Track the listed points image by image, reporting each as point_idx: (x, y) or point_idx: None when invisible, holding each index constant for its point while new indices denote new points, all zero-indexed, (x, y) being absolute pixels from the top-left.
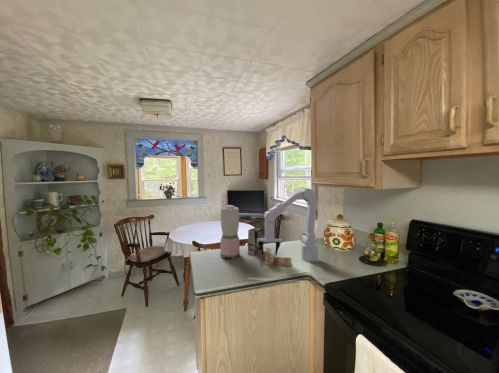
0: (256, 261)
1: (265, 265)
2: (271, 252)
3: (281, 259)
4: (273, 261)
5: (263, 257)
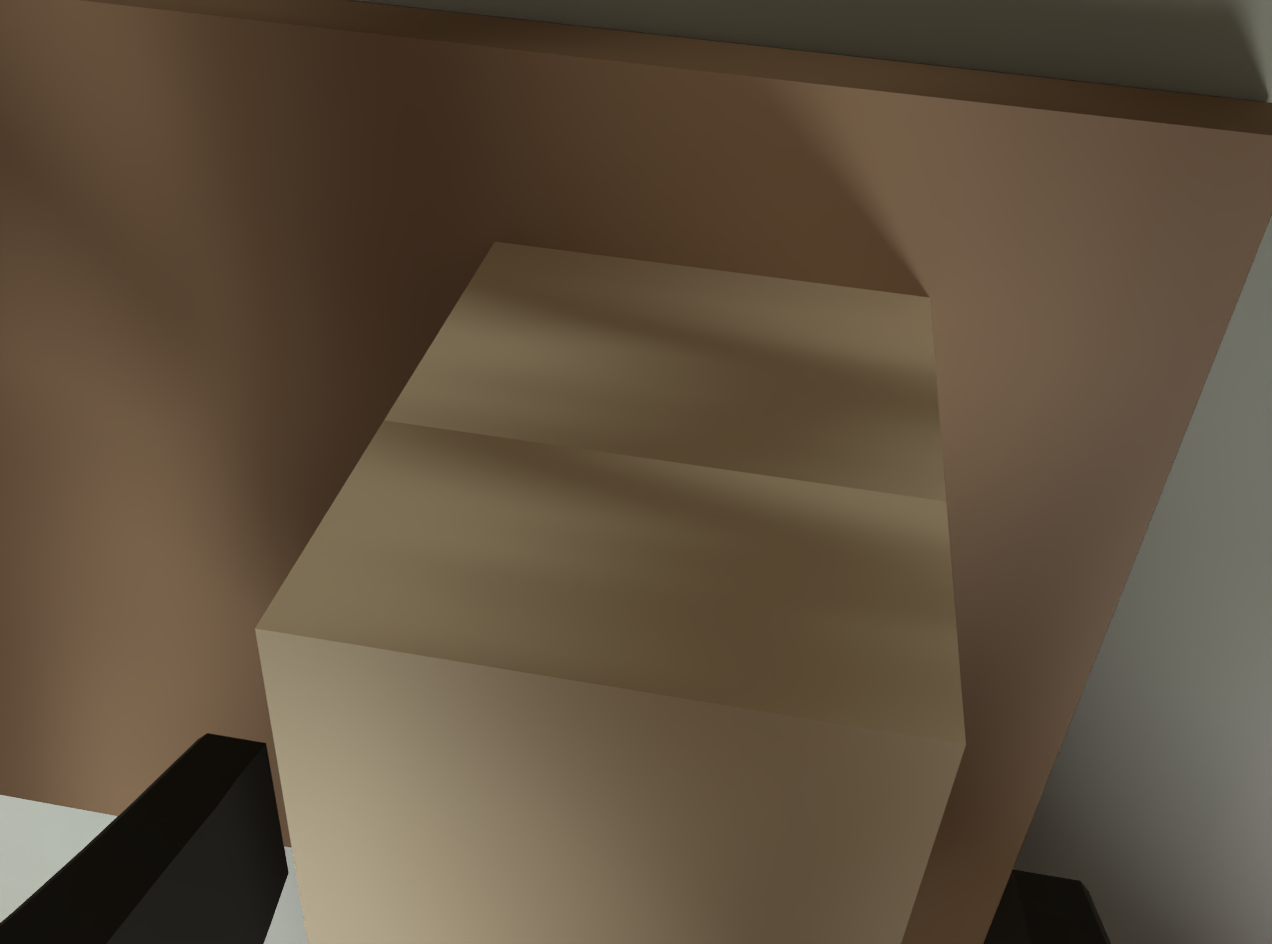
0: (1257, 697)
1: (948, 131)
2: (432, 905)
3: (168, 689)
4: None
5: None
